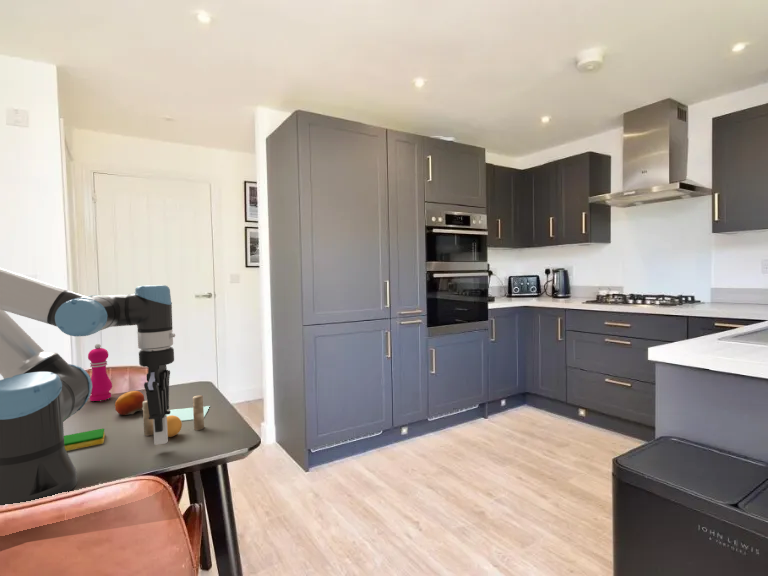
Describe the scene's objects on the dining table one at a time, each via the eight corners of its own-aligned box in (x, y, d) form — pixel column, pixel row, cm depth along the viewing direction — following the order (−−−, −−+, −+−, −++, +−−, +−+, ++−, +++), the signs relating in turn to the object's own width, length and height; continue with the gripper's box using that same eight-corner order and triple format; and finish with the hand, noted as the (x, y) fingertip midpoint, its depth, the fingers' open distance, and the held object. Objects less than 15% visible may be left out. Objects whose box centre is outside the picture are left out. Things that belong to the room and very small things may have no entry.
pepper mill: (116, 398, 148) (113, 342, 147) (94, 403, 142) (90, 346, 141) (107, 395, 152) (104, 341, 151) (84, 400, 145) (81, 344, 145)
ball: (161, 424, 113) (160, 443, 109) (157, 414, 109) (156, 432, 106) (183, 420, 115) (183, 437, 111) (179, 409, 111) (180, 427, 108)
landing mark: (159, 423, 120) (159, 422, 120) (170, 410, 132) (170, 409, 132) (203, 418, 123) (203, 418, 123) (210, 406, 135) (210, 405, 135)
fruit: (136, 413, 126) (123, 390, 126) (118, 425, 127) (105, 403, 128) (155, 404, 134) (143, 383, 134) (138, 416, 135) (126, 395, 136)
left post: (142, 436, 111) (141, 403, 111) (146, 432, 113) (144, 400, 113) (153, 435, 112) (151, 402, 111) (156, 431, 114) (154, 399, 114)
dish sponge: (39, 449, 106) (39, 439, 106) (104, 436, 113) (104, 427, 113) (34, 459, 100) (34, 449, 100) (103, 445, 107) (103, 436, 107)
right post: (193, 430, 114) (191, 398, 114) (195, 427, 116) (193, 395, 116) (203, 429, 115) (201, 397, 114) (205, 426, 117) (203, 395, 117)
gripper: (165, 351, 95) (170, 451, 96) (179, 342, 108) (183, 431, 109) (129, 354, 93) (135, 456, 94) (147, 344, 106) (152, 434, 107)
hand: (161, 442), depth 101 cm, fingers closed
